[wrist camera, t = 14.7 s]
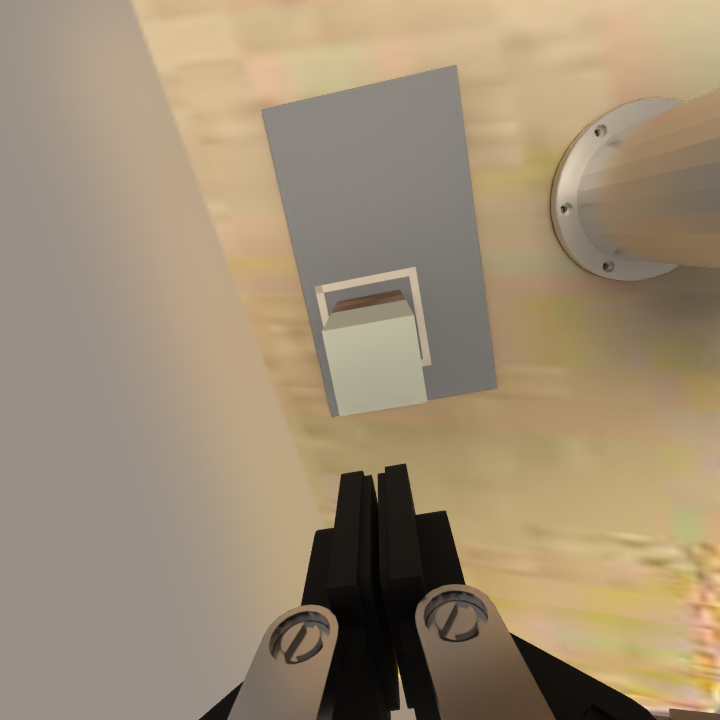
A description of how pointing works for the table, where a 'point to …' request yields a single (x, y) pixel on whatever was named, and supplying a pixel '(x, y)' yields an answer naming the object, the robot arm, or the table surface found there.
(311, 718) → the robot arm
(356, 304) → the walnut block
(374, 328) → the sage block
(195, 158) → the table surface
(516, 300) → the table surface
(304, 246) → the board
